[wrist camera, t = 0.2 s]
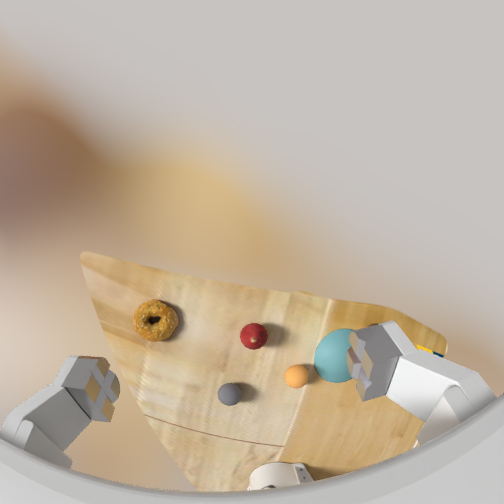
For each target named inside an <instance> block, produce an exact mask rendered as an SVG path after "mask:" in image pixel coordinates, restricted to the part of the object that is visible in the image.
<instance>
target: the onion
mask: <svg viewBox="0 0 504 504" xmlns="http://www.w3.org/2000/svg"><path fill="white" fill-rule="evenodd" d="M267 337H268V335H267V331H266V329H265V328H264V327H263V326H262V325H260V324H258V323H251V324H248V325H246V326H245V327H244V328H243V329H242V331H241V334H240V338H241V342H242V343H243V344H244V346H245V347H247V348H249V349H254V350H255V349H259V348H261V347H262V346H264V344H265V343H266V341H267Z"/></svg>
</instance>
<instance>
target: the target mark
mask: <svg viewBox="0 0 504 504" xmlns="http://www.w3.org/2000/svg"><path fill="white" fill-rule="evenodd" d="M351 331H354V330H351V329H339V330H336V331H333V332H331V333H330V334H328V335H327V336H326V337H324V338H323V340H322V341H321V342H320V343H319V345H318V347H317V349H316V352H315V357H314V363H315V368H316V370H317V372H318V373H319V375H320V376H321V377H322V378H323V379H325V380H327V381H329V382H334V383H340V382H345V381H348V380H350V379H352V377H351V375H350V373H349V370H348V366H347V351H348V349H349V348H350V347H351V344H350V342H349V335H350V333H351Z"/></svg>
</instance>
